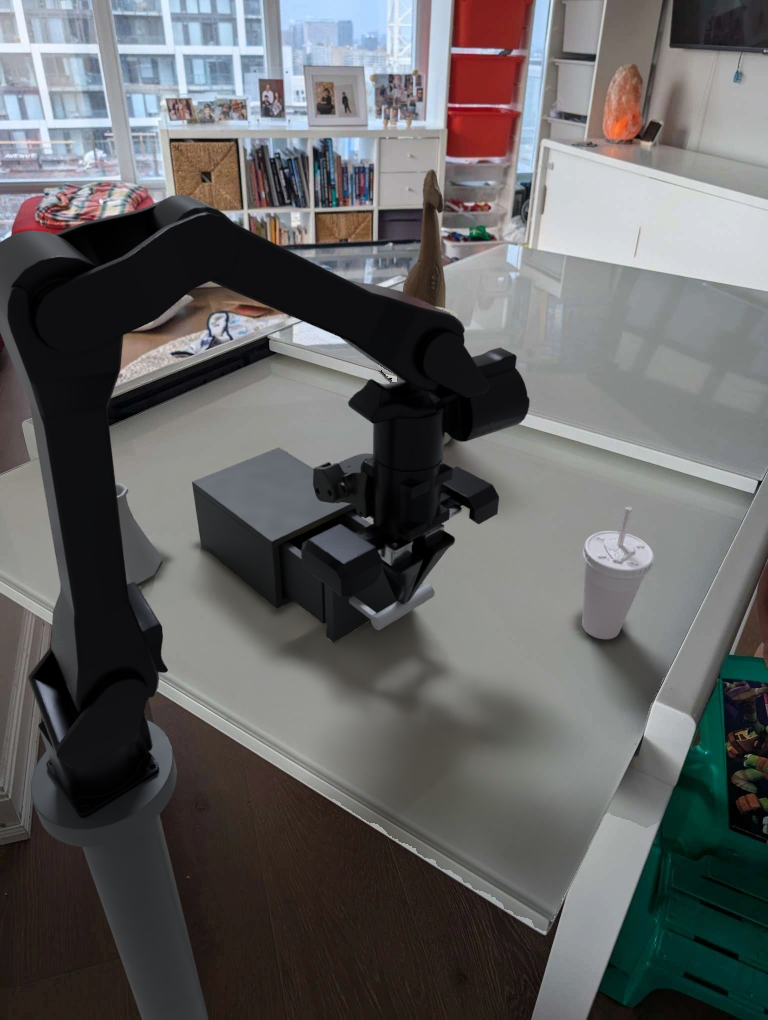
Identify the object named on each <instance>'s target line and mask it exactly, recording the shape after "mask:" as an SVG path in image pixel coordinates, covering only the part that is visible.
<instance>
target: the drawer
mask: <svg viewBox="0 0 768 1020" xmlns="http://www.w3.org/2000/svg"><path fill="white" fill-rule="evenodd" d="M339 524H342V525H343V526H345V527H346V528H348V529H349V530H351V531H352V532H354V533H355V532H357V531H359V530H361V529H363V528H365V527H367V526H369V525H371V524H372V523H371V522H369V521H367V520H366V519H365V518H364V517H362V518H361V517H360V516H358V515H357V514H355V513H353V512H352V511H348V512H346V513H344V514H342V515H340V516H338V517H336V518H333V519H331V520H329V521H327V522H325V523H323V524H321V525H319V526H317V527H315V528H313V529H311V530H309V531H307V532H305V533H302V534H300V535H298V536H296V537H294V538H292V539H290V540H288V541H286V542H284V543H282V544H280V545H279V557H280V571H281V585H282V592H284V593H285V594H286V595H287V596H289V597H290V598H291V599H292V600H293V602H295V604H296V603H297V605H298V606H299V607H301V608H302V609H303V610H305V611H306V612H307V613H308V614H309V615H311V616H312V617H313V618H314V619H316V620H317V621H318V622H319V623H320V624H322V625H324V624H325V637H326V638H327V639H328V640H330V642H332V643H333V644H335V643H336V642H339V640H341V639H344V638H345V637H347V636H348V635H349V634H351V633H353V632H355V631H356V630H358V629H359V628H361V627H363V626H364V625H366V624H368V623H371V625H372V627H373V628H374V629H375V630H377V631H381V630H382V629H384V628H385V627H387V626H389V625H390V624H392V623H394V622H395V621H397V620H398V619H400V618H402V617H403V616H405V615H406V614H409V613H410V612H411V611H413V610H414V609H416V608H418V607H419V606H421V605H422V604H424V603H426V602H427V601H429V600H431V599H433V598H434V597H435V595H436V592H435V590H434V589H435V588H434V587H433V586H432V585H431V584H429V583H425V584H424V585H423V584H421V585H420V587H419V588H418V590H417V591H416V593H415V594H414V595H413V597H412V598H411V600H410V601H409V602H407V603H405V604H401V603H400V602H398V601H397V600H396V599H395V597H394V594H393V592H392V590H391V587H390V585H389V583H388V581H387V578H386V576H385V574H384V572H382V574H381V576H380V577H379V579H378V580H377V582H376V583H375V584H373V585H372V586H370V587H368V588H366V589H365V590H363V591H361V592H359V593H358V594H356V595H354V596H352V597H341V596H340V595H339V594H338V593H336V592H335V591H334V590H332V589H331V588H330V587H328V586H327V585H326V584H324V583H323V582H322V581H320V580H319V579H318V578H316V577H315V576H314V575H312V574H311V573H310V572H308V571H307V570H306V569H304V568H303V567H302V556H301V549H302V543H303V542H305V541H307V540H308V539H310V538H312V537H314V536H316V535H318V534H320V533H322V532H324V531H326V530H328V529H330V528H332V527H334V526H336V525H339Z"/></svg>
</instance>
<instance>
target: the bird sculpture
mask: <svg viewBox="0 0 768 1020" xmlns="http://www.w3.org/2000/svg"><path fill="white" fill-rule="evenodd" d="M438 181H439V180H438V175H437V173H436V171H435V169H434V168H431V169H429V170H428V171H427V172H426V174H425V177H424V178H423V184H422V199H423V200H422V220H421V221H422V222H421V234H420V235H421V237H420V245H419V252H418V259H417V261H416V262H415V263H414V264H413V266H411V268H410V270H409V272H408V274H407V276H406V278H405V280H404V282H403V285H402V292H405V293H407V294H409V295H412V296H414V297H416V298H418V299H420V300H422V301H424V302H426V303H428V304H430V305H432V306H434V307H441V308H445V309H446V295H447V294H446V293H447V292H446V291H447V290H446V289H447V288H446V287H447V286H446V279H445V271H444V266H443V265H444V264H443V257H442V256H443V254H442V248H441V247H442V246H441V235H440V225H439V224H440V223H439V216H438V214H441V213H443V211H444V198H443V194H442V192H441V189H440V186H439V182H438ZM391 383H394V382H391Z"/></svg>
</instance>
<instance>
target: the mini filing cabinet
mask: <svg viewBox="0 0 768 1020" xmlns="http://www.w3.org/2000/svg"><path fill="white" fill-rule="evenodd" d="M313 470H314V467H312V466H311V465H308V464H307V463H305V462H303V461H302V460H300V459H299V458H297V457H296V456H293V455H292V454H290V453H289V452H287V451H286V450H284V449H283V448H281V447H277V448H274V449H272V450H269V451H265V452H263V453H260V454H259V455H255V456H254V457H251V458H248V459H246V460H243V461H240V462H238V463H236V464H232V465H231V466H227V467H225V468H223V469H221V470H218V471H216V472H215V471H214V472H213V473H211V474H208V475H205V476H203V477H200V478H198V479H195V480H193V481H191V484H192V485H191V486H192V492H193V500H194V505H195V507H194V508H195V513H196V520H197V526H198V533H199V534H198V535H199V540H200V546H201V547H202V548H203V549H205V550H206V551H207V552H208V553H209V554H211V555H212V557H214V558H215V559H216V560H218V561H219V562H220V563H221V564H222V565H224V566H225V567H226V568H227V569H228V570H229V571H231V572H232V573H233V574H234V575H235V576H237V577H238V578H239V579H240V580H241V581H243V582H244V583H245V584H246V585H247V586H249V587H250V588H251V589H252V590H253V591H254V592H256V593H257V594H258V595H259V596H260V597H262V598H263V599H264V600H265V601H266V602H268V603H269V604H270V605H271V606H272V607H274V608H275V609H276V610H279V609H280V608H282V607H284V606H286V605H287V604H289V603H291V602H294V600H292V599H291V598H290V597H289V596H287V595H286V594H285V593H284V592H282V585H281V571H280V557H279V545H280V544H282V543H284V542H286V541H288V540H290V539H292V538H294V537H296V536H298V535H300V534H302V533H305V532H307V531H309V530H311V529H313V528H315V527H317V526H319V525H321V524H323V523H325V522H327V521H329V520H331V519H333V518H336V517H338V516H340V515H342V514H344V513H346V512H348V511H352V512H353V513H355V514H357V513H356V504H350V503H344V502H340V503H328V502H322V501H320V500H319V499H318V498H317V497H316V494H315V491H314V487H313ZM357 515H358V516H360V515H359V514H357ZM360 517H361V518H363V517H362V516H360Z"/></svg>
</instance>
